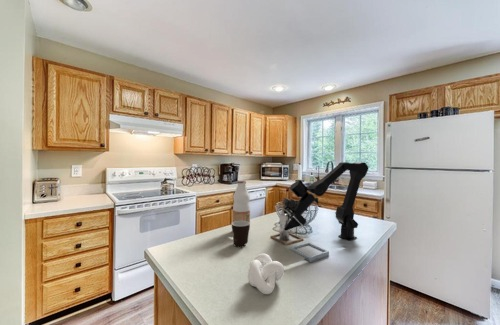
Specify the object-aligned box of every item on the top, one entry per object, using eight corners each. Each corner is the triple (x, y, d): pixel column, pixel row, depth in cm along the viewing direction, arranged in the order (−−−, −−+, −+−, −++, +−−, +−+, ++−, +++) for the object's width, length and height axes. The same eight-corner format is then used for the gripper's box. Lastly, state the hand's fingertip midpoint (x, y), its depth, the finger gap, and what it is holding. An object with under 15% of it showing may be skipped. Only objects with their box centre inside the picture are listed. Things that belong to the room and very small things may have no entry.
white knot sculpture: (279, 274, 76) (279, 249, 76) (289, 296, 64) (289, 267, 64) (246, 277, 75) (247, 251, 75) (251, 299, 63) (251, 269, 63)
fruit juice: (234, 235, 114) (234, 182, 113) (231, 229, 123) (231, 180, 123) (251, 233, 116) (251, 181, 115) (248, 228, 125) (248, 179, 125)
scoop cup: (284, 236, 109) (285, 212, 109) (291, 239, 105) (291, 214, 105) (277, 238, 107) (277, 213, 106) (283, 241, 103) (284, 216, 102)
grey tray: (308, 246, 100) (308, 242, 100) (328, 255, 91) (328, 251, 91) (290, 252, 94) (290, 247, 94) (309, 262, 85) (310, 257, 85)
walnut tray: (287, 235, 114) (287, 231, 114) (303, 242, 104) (303, 238, 104) (270, 239, 108) (270, 235, 108) (285, 247, 98) (285, 243, 98)
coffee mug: (247, 249, 97) (247, 226, 97) (229, 247, 99) (229, 225, 99) (252, 239, 108) (252, 219, 108) (235, 238, 110) (235, 218, 110)
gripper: (286, 189, 115) (266, 210, 114) (300, 195, 97) (275, 221, 95) (300, 203, 117) (280, 225, 115) (316, 212, 98) (292, 238, 97)
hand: (281, 226), depth 106 cm, fingers open, 9 cm apart
